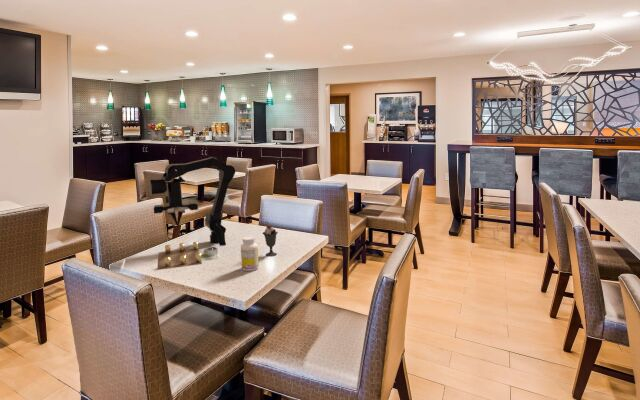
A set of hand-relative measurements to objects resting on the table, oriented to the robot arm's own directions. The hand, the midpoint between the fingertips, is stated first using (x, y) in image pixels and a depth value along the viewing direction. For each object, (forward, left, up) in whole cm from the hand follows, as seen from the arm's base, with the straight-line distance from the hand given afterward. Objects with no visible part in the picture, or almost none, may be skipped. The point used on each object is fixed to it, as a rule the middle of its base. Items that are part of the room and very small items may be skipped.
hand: (177, 225), depth 184 cm
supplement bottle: (-26, +36, -12) cm, 46 cm away
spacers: (-1, +14, -11) cm, 18 cm away
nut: (-13, +15, -11) cm, 22 cm away
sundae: (-38, +22, -12) cm, 46 cm away
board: (-2, +14, -12) cm, 19 cm away
